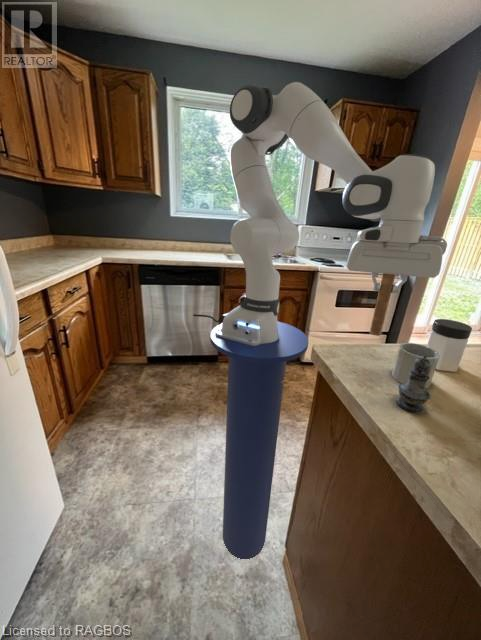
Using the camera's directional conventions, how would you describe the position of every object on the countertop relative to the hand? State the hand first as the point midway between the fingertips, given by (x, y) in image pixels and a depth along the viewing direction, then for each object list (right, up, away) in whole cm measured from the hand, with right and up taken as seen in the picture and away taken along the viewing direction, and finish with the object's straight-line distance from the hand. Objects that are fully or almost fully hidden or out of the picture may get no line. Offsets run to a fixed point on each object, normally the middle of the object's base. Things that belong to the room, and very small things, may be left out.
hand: (384, 291), depth 68 cm
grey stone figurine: (-1, -25, -11) cm, 28 cm away
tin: (+6, -22, -1) cm, 23 cm away
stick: (0, -11, +4) cm, 12 cm away
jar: (+19, -20, +7) cm, 28 cm away
